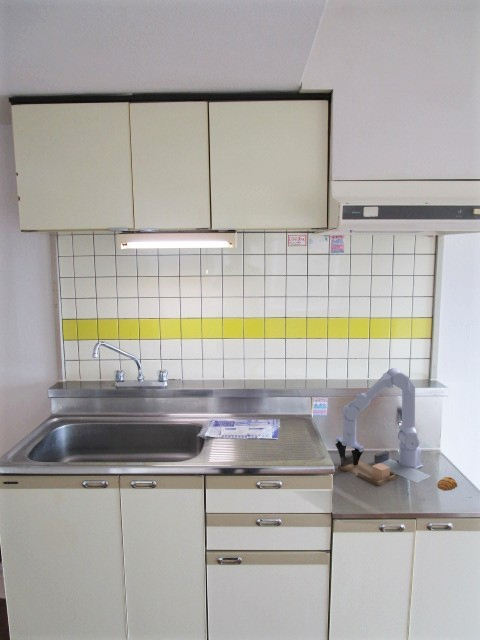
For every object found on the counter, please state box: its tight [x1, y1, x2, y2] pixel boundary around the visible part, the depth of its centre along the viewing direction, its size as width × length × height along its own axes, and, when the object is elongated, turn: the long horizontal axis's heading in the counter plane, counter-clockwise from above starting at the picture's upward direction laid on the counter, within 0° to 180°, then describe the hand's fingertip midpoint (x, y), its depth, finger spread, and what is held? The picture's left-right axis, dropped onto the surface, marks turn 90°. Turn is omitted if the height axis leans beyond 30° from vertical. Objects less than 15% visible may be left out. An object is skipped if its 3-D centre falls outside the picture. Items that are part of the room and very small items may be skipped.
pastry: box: [437, 476, 458, 491], centre depth 170 cm, size 9×7×4 cm
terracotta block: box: [371, 463, 391, 481], centre depth 177 cm, size 5×5×5 cm
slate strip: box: [372, 450, 432, 484], centre depth 184 cm, size 10×22×5 cm, turn 34°
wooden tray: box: [337, 453, 399, 487], centre depth 183 cm, size 12×22×5 cm, turn 34°
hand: (349, 461), depth 191 cm, fingers open, 7 cm apart
